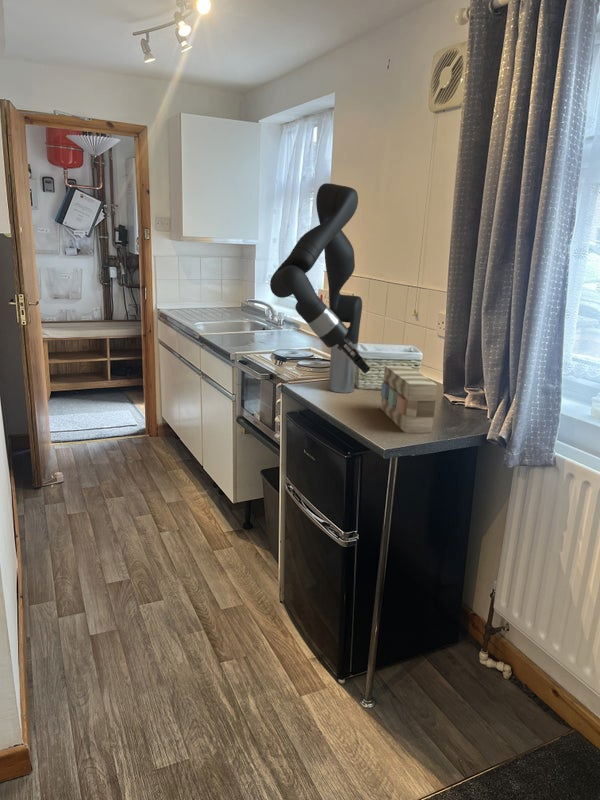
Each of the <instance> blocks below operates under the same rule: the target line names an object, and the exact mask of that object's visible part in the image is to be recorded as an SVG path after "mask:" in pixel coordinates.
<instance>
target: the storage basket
mask: <svg viewBox="0 0 600 800" xmlns="http://www.w3.org/2000/svg"><path fill="white" fill-rule="evenodd" d="M358 352H359V353H358V354H359V355H360V356H361V357H362V360H363V361H364V362H365V363H366V364H367V365H368V366H369V367H370V370H369V371H368V372H367V373H363V372H362V370H361V369H360V368H359V367H358V366H357V365H356V374H355V385H356V386H355V387H356V388H357V389H360V390H366V391H367V390H375V391H381V387H382V383H383V382H384V371H385V366H410V367H411V368H413V369H414V370H416V371H417V372H419V373H420V370H421V364H422V360H423V355H424V354H423V352H422V351H421V350H420V349H419V348H418V347H416V346H415V345H406V344H405V345H404V344H403V345H401V344H383V343H382V344H379V343H368V342H367V343H366V342H365V343H364V342H363V343H362V342H358Z"/></svg>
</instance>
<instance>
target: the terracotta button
mask: <svg viewBox="0 0 600 800" xmlns="http://www.w3.org/2000/svg"><path fill="white" fill-rule="evenodd" d="M405 407H406V398H405V397H404V396H397V405H396V410H397V411H398V412H399V413H404V414H405Z"/></svg>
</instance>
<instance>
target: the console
mask: <svg viewBox="0 0 600 800" xmlns="http://www.w3.org/2000/svg"><path fill="white" fill-rule="evenodd" d="M383 383H388V384H389V385H390V386H389V389H395V390H396V391H398V393H397V396H404V397H405V398H406V407H405V414H404V413H399V412H398V411H397V410H396V406H392V405H391V404H390V403H389V402H388V398H389V396H388V398H383V397H382V396H381V401H380V402H381V403H380V409H381V410H382V411H383V412H384V413H385V414H386V416H388V418H389V419H390V420H392V421H393V423H395V424H396V426H397V427H399V429H400V430H401V431H403V433H406V434H407V433H409V434H410V433H411V434H412V433H415V434H418V433H419V434H420V433H421V434H422V433H426V434H432V432H433V425H434V424H433V423H434V417H435V409H436V401H437V393H438V384H436V382H434V381H432V380H431V379H429V378H428V377H426V376H425V375H424V374H422V373H420V371H419V372H417V371H416V370H414V369H413V368H411V367H410V366H385V371H384V382H383ZM396 405H397V402H396Z"/></svg>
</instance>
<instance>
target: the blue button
mask: <svg viewBox="0 0 600 800" xmlns="http://www.w3.org/2000/svg"><path fill="white" fill-rule="evenodd" d="M389 386H390V385H389V384H388V383H382V387H381V390H380V397H381V398H382V397H383V398H388V396H389Z"/></svg>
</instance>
